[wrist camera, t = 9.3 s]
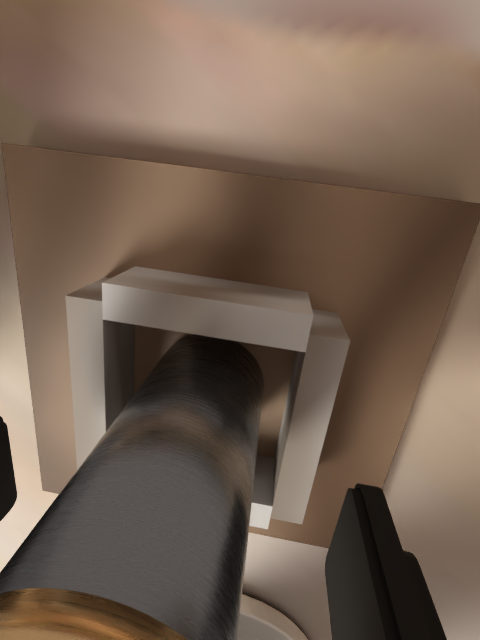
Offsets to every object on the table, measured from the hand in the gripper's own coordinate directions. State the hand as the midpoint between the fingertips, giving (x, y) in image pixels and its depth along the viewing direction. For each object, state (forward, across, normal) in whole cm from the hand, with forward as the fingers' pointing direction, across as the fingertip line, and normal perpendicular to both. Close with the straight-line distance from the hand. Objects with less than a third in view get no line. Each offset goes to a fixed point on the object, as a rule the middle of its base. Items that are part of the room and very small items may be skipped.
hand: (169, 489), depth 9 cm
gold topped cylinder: (+5, 0, 0) cm, 5 cm away
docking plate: (+6, 0, 0) cm, 6 cm away
